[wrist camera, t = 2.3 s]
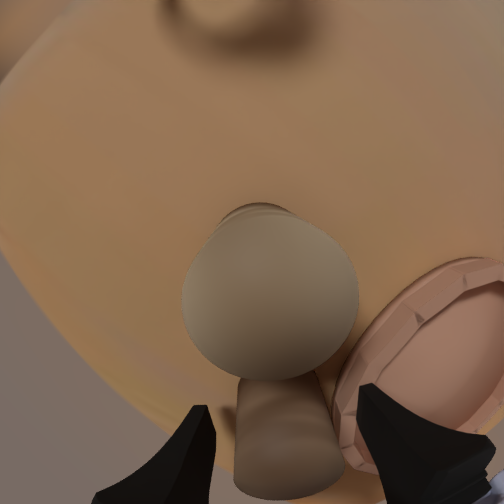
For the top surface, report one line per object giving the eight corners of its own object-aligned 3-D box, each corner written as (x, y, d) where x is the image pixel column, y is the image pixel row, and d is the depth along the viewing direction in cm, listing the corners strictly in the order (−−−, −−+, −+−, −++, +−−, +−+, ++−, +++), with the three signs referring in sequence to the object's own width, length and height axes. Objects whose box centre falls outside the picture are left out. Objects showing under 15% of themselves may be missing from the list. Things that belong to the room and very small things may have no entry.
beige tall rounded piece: (303, 196, 11) (353, 205, 6) (313, 291, 12) (358, 364, 7) (202, 211, 11) (164, 233, 6) (219, 306, 12) (203, 388, 7)
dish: (530, 241, 12) (550, 247, 10) (487, 412, 15) (498, 425, 13) (328, 282, 12) (342, 300, 10) (327, 474, 15) (332, 495, 13)
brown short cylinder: (316, 351, 13) (349, 436, 7) (318, 410, 14) (341, 490, 8) (231, 363, 13) (222, 454, 7) (244, 420, 14) (243, 503, 8)
